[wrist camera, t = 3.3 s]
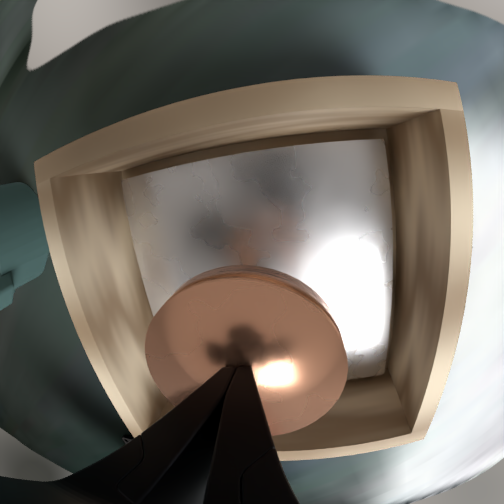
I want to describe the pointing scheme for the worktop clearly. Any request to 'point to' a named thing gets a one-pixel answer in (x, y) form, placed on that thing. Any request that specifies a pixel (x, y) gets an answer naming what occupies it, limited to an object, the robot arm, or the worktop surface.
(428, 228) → the box
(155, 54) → the worktop surface
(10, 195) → the bracket
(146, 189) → the plunger
